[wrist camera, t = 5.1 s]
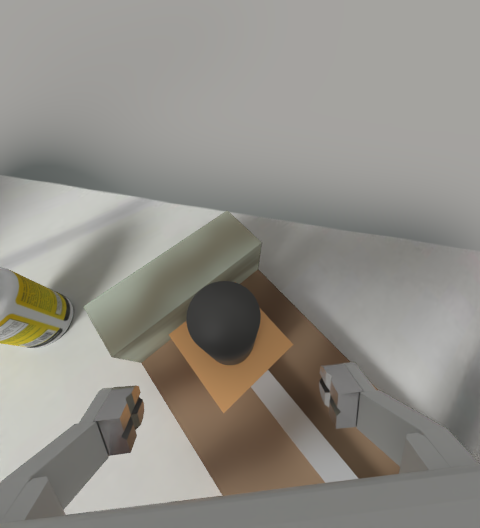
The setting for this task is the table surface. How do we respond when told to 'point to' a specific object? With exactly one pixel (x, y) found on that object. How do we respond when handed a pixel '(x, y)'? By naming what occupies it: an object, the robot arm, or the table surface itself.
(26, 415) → the table surface
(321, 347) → the rail board
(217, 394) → the carriage
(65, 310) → the supplement bottle
